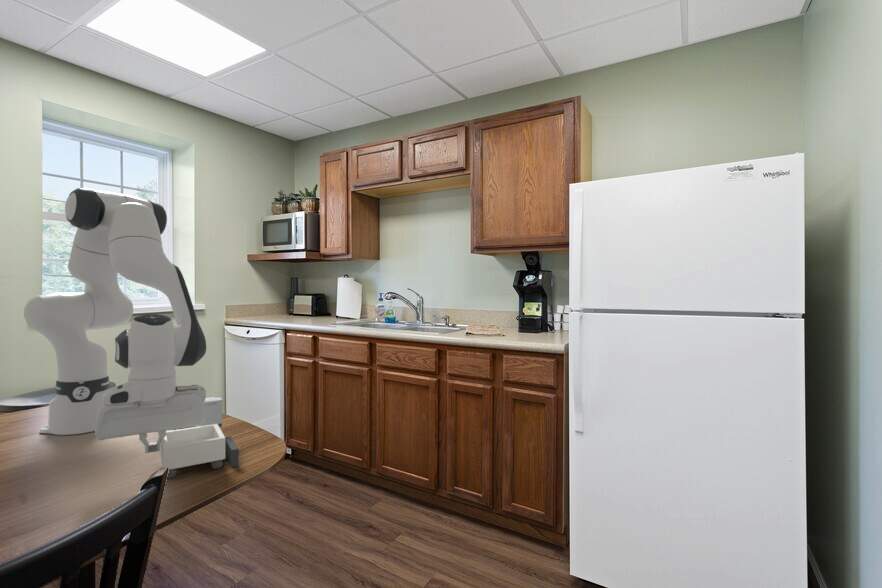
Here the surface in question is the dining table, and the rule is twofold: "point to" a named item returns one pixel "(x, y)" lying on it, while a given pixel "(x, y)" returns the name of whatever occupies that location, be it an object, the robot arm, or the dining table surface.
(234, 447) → the block
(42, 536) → the dining table surface
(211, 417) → the skincare box
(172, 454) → the cart
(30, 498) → the dining table surface
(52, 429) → the robot arm
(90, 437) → the dining table surface
